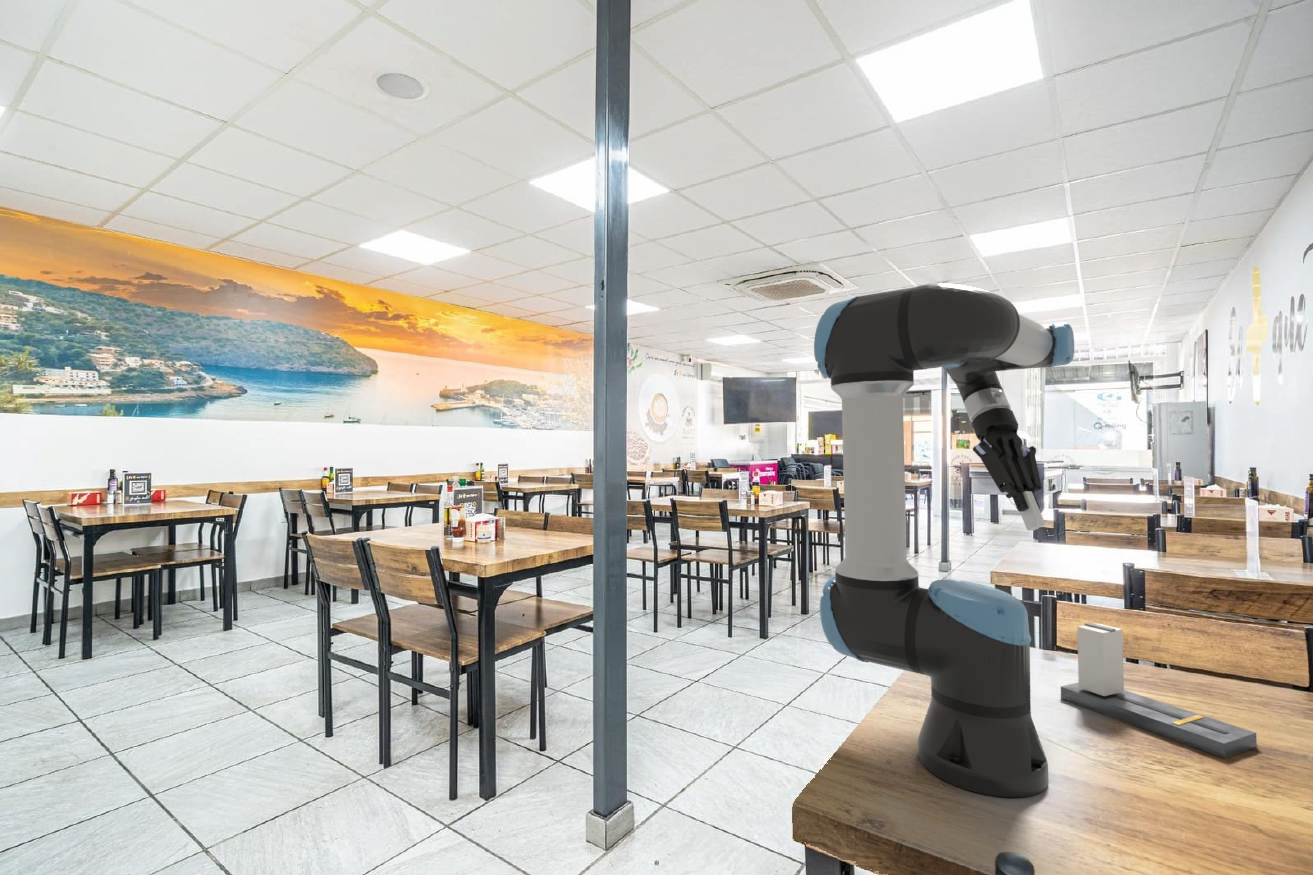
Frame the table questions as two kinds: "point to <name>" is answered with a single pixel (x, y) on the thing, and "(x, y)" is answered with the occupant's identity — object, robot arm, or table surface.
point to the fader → (1100, 659)
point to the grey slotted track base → (1166, 720)
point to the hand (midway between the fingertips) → (1036, 527)
